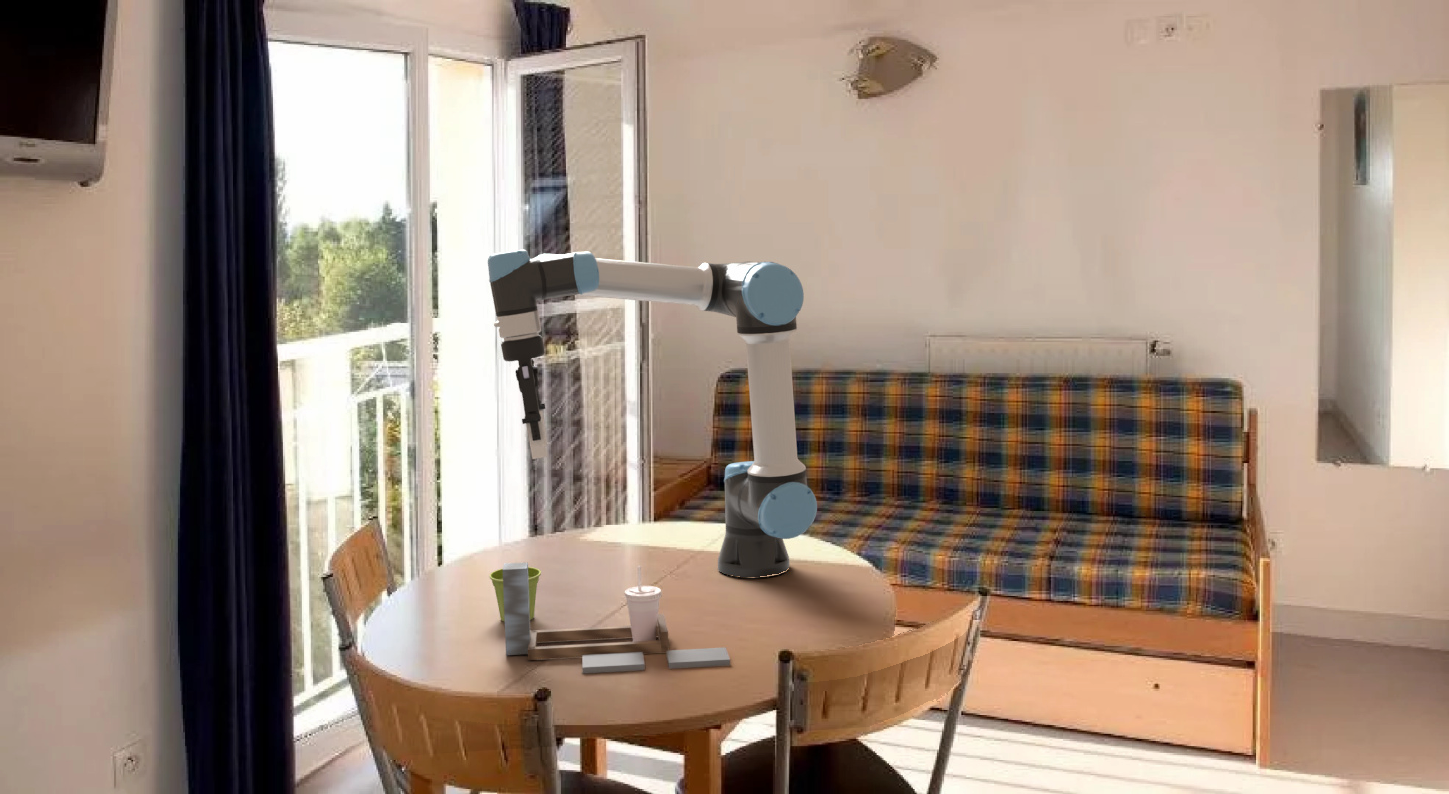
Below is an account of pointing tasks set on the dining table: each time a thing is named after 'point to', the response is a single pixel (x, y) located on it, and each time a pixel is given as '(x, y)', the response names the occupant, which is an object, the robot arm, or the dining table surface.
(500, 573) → the plant pot
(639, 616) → the smoothie
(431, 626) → the dining table surface
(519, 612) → the sled
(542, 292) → the robot arm
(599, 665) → the broken strip
